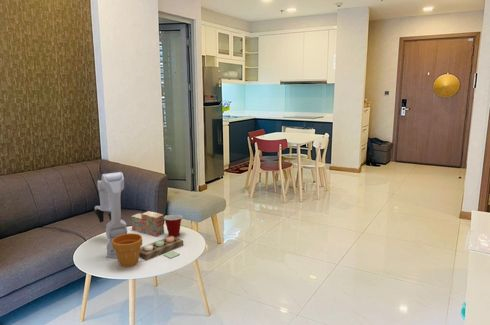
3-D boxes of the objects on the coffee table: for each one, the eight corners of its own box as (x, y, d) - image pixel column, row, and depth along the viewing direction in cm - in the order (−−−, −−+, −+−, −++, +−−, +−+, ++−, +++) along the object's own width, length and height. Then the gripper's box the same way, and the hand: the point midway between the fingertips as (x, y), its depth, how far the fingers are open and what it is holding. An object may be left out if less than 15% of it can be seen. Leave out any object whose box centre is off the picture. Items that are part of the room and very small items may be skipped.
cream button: (147, 254, 192) (147, 248, 191) (142, 251, 194) (142, 246, 194) (154, 251, 195) (154, 246, 194) (149, 248, 198) (149, 243, 197)
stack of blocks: (131, 230, 229) (130, 211, 226) (139, 227, 234) (138, 208, 232) (157, 237, 218) (155, 217, 215) (164, 233, 223) (163, 214, 220)
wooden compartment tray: (146, 260, 188) (146, 254, 187) (135, 254, 195) (135, 249, 194) (183, 245, 206) (183, 240, 205) (172, 240, 212) (171, 235, 212)
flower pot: (120, 256, 193) (118, 233, 190) (147, 256, 192) (145, 233, 190) (109, 269, 179) (107, 244, 176) (138, 269, 178) (136, 244, 176)
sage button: (158, 249, 197) (158, 244, 196) (154, 247, 200) (153, 242, 199) (165, 246, 200) (165, 241, 199) (160, 244, 203) (160, 239, 202)
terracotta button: (169, 245, 202) (169, 240, 201) (164, 243, 205) (164, 238, 204) (176, 242, 205) (175, 237, 205) (171, 240, 208) (170, 235, 207)
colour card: (170, 258, 189) (170, 257, 189) (163, 255, 193) (163, 254, 193) (179, 254, 194) (179, 254, 194) (172, 251, 198) (172, 250, 198)
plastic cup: (185, 232, 224) (184, 213, 222) (181, 239, 214) (180, 219, 211) (167, 232, 225) (166, 213, 223) (162, 239, 214) (161, 219, 212)
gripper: (120, 200, 212) (122, 222, 215) (100, 196, 217) (101, 218, 220) (112, 203, 205) (113, 226, 209) (91, 200, 210) (93, 222, 214)
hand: (107, 222), depth 214 cm, fingers open, 7 cm apart
